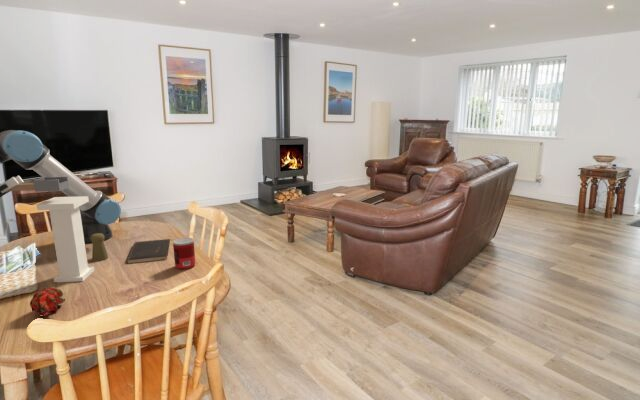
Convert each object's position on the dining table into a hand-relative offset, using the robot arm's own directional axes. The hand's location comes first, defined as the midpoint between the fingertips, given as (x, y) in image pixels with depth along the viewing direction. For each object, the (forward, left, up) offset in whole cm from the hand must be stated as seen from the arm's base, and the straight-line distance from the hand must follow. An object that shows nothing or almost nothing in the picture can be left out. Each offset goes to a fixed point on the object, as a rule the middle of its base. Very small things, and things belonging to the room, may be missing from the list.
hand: (18, 179), depth 139 cm
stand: (+6, +12, -38) cm, 40 cm away
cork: (-9, +23, -38) cm, 46 cm away
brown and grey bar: (+2, +3, -4) cm, 5 cm away
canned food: (+22, +49, -38) cm, 66 cm away
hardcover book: (-3, +42, -39) cm, 58 cm away
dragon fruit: (+33, +2, -38) cm, 51 cm away
